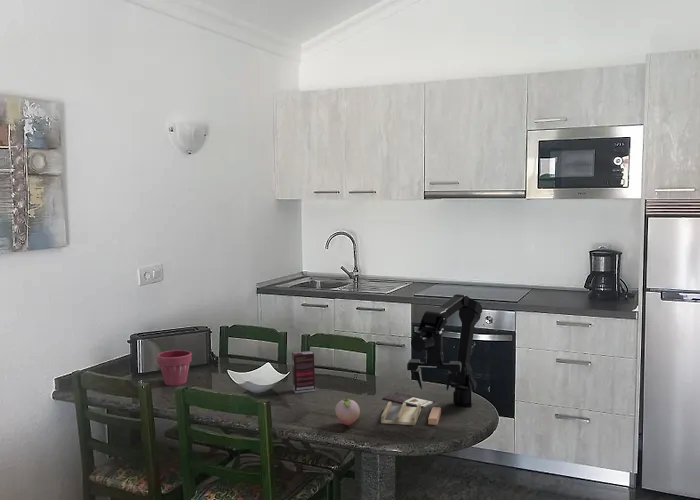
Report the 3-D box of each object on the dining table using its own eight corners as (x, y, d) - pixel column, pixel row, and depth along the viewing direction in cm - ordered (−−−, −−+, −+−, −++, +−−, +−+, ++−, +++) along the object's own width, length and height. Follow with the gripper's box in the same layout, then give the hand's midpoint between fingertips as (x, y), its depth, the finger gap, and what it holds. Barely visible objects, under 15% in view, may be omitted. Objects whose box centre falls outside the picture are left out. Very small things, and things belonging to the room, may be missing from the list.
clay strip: (440, 414, 247) (440, 407, 246) (436, 425, 235) (436, 418, 235) (432, 413, 247) (432, 407, 247) (428, 425, 236) (428, 418, 236)
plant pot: (186, 376, 300) (185, 347, 299) (197, 383, 288) (195, 354, 287) (154, 381, 293) (153, 352, 292) (163, 389, 281) (162, 359, 280)
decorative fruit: (363, 428, 233) (362, 400, 232) (340, 431, 231) (339, 402, 230) (355, 419, 242) (354, 392, 241) (333, 421, 240) (332, 394, 239)
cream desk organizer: (420, 410, 250) (420, 403, 250) (415, 425, 235) (414, 418, 235) (388, 408, 253) (388, 401, 253) (381, 423, 238) (381, 416, 237)
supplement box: (312, 387, 280) (312, 350, 278) (315, 391, 275) (314, 353, 274) (292, 389, 278) (291, 352, 276) (294, 393, 273) (293, 355, 271)
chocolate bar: (396, 392, 271) (434, 400, 259) (396, 394, 271) (434, 403, 259) (383, 397, 264) (421, 407, 252) (383, 400, 264) (421, 409, 252)
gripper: (462, 342, 244) (462, 384, 246) (411, 340, 249) (411, 381, 250) (460, 349, 234) (460, 393, 235) (406, 347, 238) (407, 390, 240)
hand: (434, 389), depth 240 cm, fingers open, 9 cm apart
